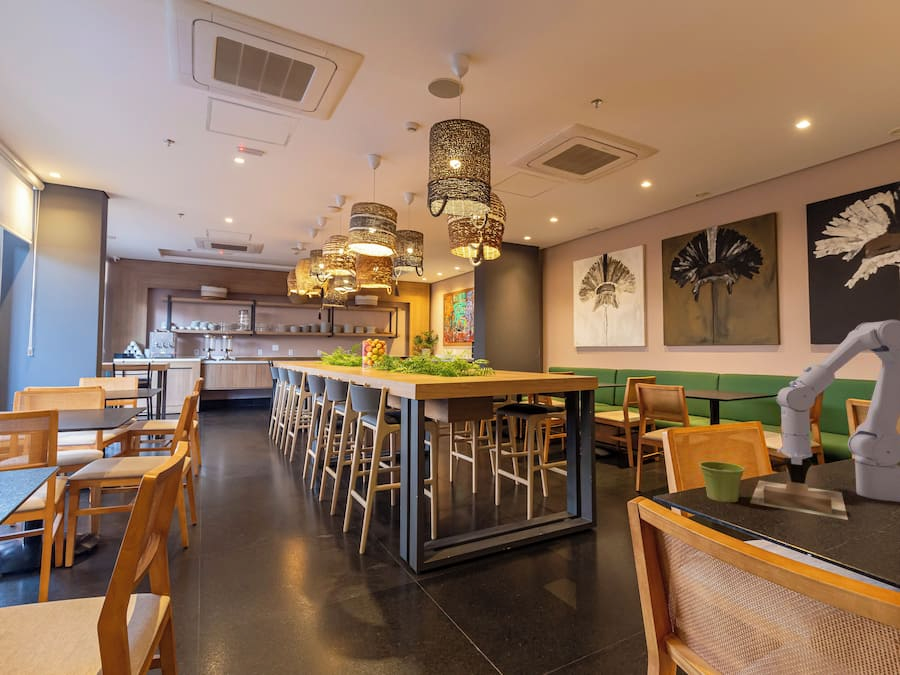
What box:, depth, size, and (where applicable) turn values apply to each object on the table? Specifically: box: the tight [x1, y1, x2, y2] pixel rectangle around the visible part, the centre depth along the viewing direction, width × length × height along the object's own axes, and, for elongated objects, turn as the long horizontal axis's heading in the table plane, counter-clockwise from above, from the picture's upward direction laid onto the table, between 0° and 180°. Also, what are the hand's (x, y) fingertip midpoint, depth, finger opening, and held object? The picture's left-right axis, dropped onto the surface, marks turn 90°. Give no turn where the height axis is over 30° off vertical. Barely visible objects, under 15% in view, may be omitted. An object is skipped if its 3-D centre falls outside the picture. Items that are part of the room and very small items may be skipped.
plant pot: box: [698, 461, 746, 503], centre depth 106 cm, size 9×9×9 cm
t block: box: [764, 481, 832, 514], centre depth 103 cm, size 12×12×3 cm
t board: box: [749, 480, 849, 521], centre depth 106 cm, size 17×24×1 cm
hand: (798, 487), depth 111 cm, fingers closed
